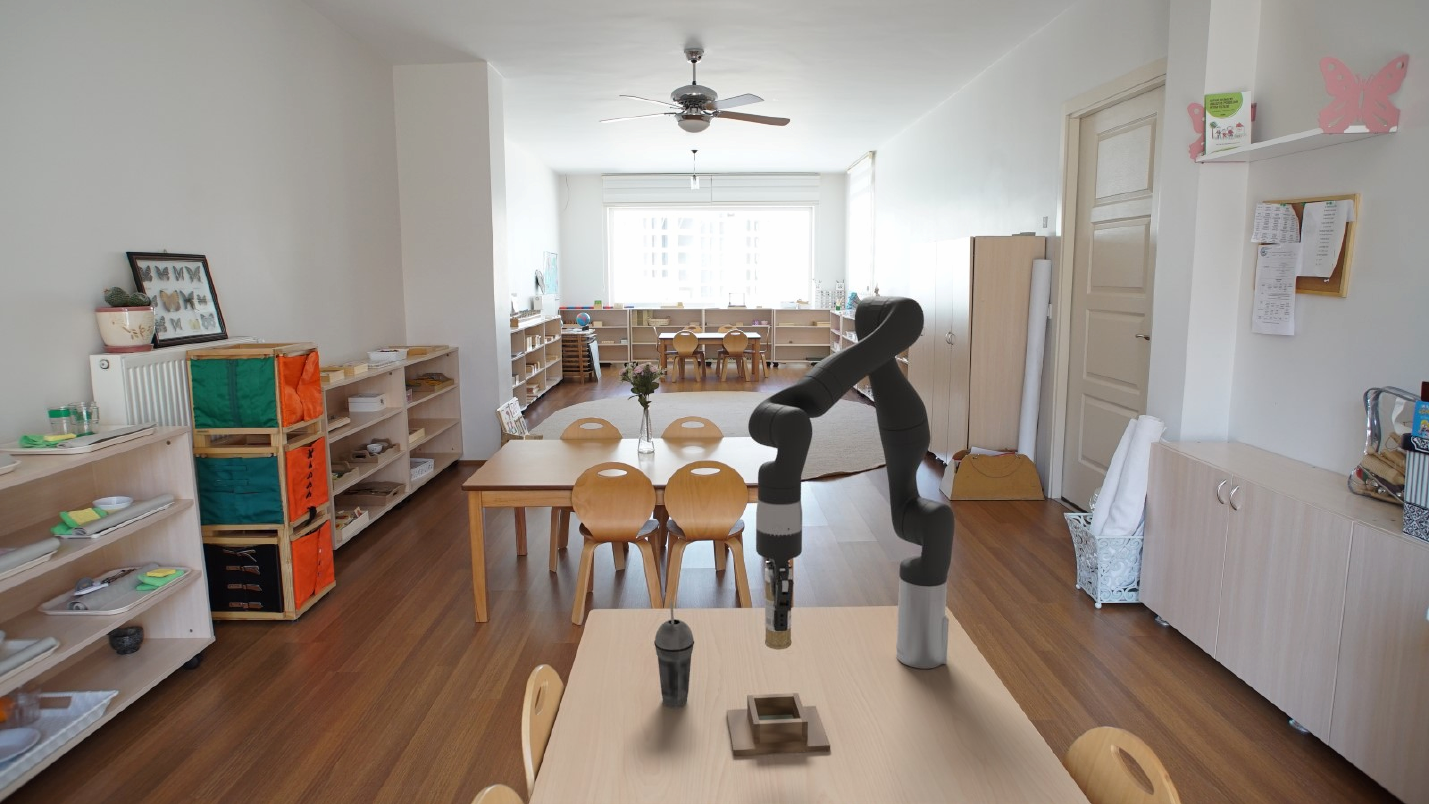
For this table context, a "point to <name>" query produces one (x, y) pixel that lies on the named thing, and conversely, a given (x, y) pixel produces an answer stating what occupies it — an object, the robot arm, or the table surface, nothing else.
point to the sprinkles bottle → (773, 637)
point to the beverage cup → (674, 660)
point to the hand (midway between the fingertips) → (778, 623)
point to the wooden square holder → (776, 726)
